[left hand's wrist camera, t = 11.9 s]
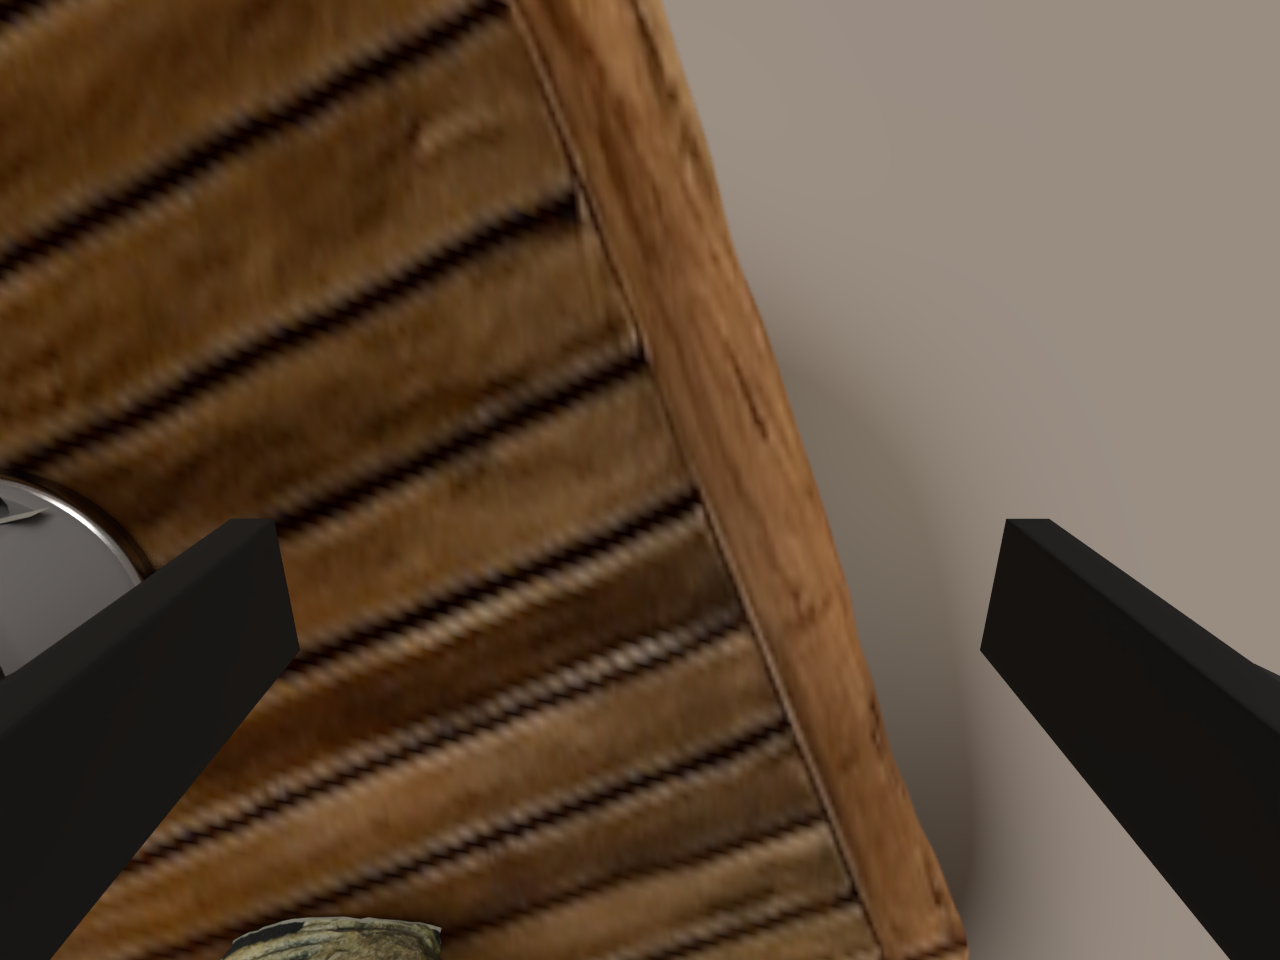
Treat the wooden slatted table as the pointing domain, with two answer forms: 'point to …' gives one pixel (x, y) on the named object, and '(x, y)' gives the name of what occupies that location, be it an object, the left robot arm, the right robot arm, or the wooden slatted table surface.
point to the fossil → (339, 940)
